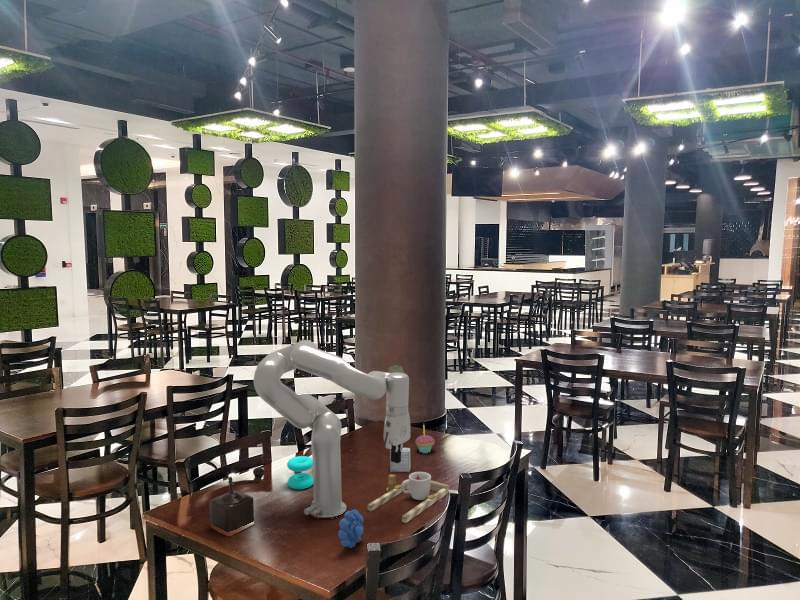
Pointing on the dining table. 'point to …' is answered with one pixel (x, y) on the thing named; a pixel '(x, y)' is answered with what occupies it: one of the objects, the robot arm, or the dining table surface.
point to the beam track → (397, 489)
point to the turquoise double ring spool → (301, 478)
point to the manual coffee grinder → (234, 506)
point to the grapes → (351, 528)
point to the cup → (418, 485)
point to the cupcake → (424, 442)
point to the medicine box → (404, 464)
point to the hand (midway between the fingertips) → (395, 461)
